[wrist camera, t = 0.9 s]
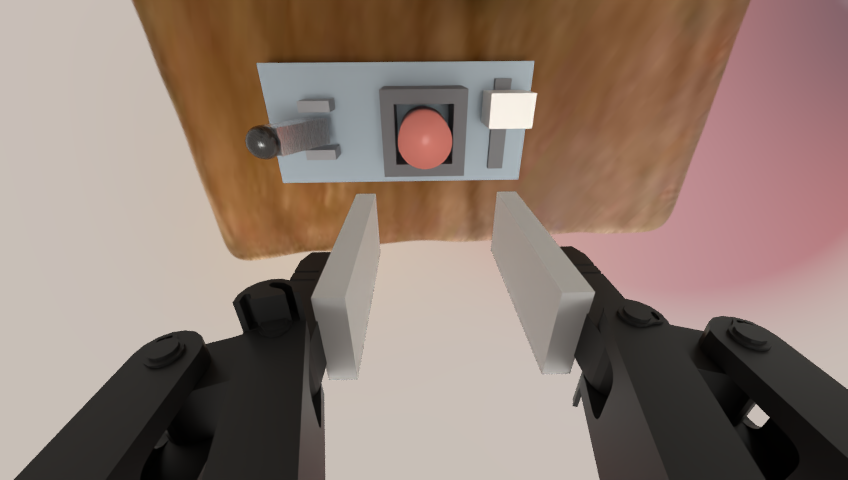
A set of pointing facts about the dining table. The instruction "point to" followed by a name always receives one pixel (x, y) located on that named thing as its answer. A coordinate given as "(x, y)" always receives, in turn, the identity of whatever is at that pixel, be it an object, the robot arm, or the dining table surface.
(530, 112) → the slider
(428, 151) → the button
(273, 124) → the lever
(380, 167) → the panel
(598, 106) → the dining table surface
